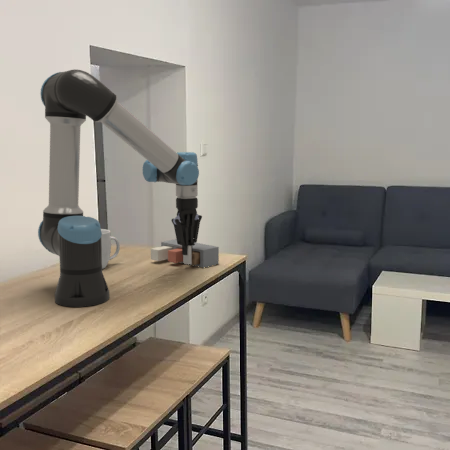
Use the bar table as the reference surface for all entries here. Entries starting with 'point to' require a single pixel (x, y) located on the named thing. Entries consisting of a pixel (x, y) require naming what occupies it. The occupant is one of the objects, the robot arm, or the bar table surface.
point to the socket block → (207, 252)
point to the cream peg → (160, 252)
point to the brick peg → (175, 255)
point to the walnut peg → (195, 257)
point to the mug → (108, 247)
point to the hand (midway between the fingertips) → (187, 263)
